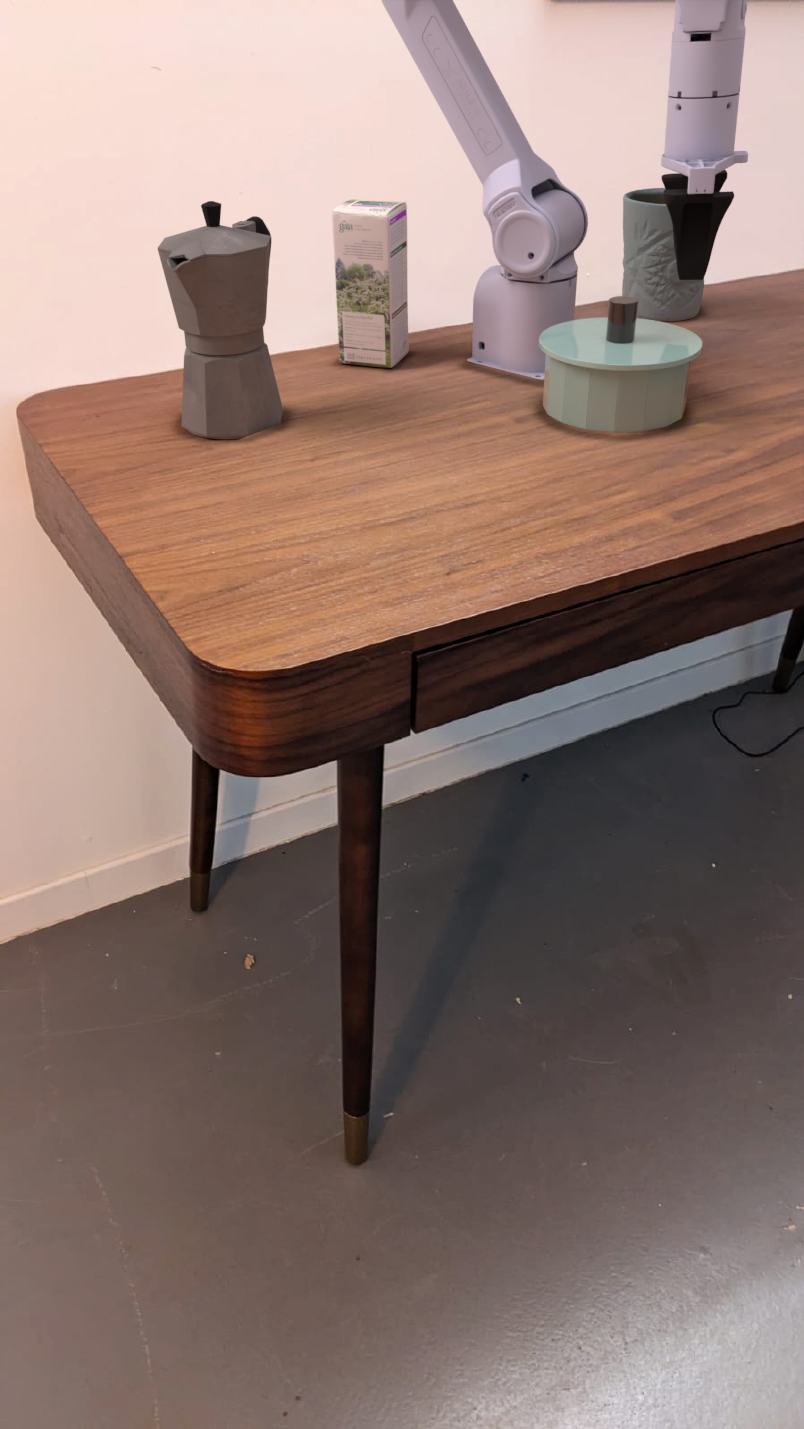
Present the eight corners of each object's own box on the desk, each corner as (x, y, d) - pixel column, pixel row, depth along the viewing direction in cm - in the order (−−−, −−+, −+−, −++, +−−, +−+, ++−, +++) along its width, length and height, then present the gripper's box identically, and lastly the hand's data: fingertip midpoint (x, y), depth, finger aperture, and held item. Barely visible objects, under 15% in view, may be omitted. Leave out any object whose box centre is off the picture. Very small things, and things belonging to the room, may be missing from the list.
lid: (506, 356, 96) (508, 303, 94) (596, 320, 105) (600, 271, 102) (645, 390, 89) (652, 333, 86) (730, 348, 97) (738, 296, 95)
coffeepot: (244, 455, 93) (222, 222, 83) (147, 440, 96) (113, 214, 86) (323, 395, 105) (312, 185, 94) (234, 384, 108) (214, 179, 97)
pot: (516, 416, 99) (519, 348, 96) (593, 381, 107) (598, 317, 103) (634, 449, 93) (642, 377, 89) (708, 409, 100) (718, 342, 97)
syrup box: (410, 352, 115) (408, 199, 107) (391, 370, 110) (388, 211, 102) (358, 348, 116) (352, 196, 108) (337, 365, 112) (329, 208, 104)
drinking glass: (684, 328, 121) (699, 207, 114) (597, 315, 125) (607, 198, 118) (717, 305, 127) (733, 191, 121) (634, 294, 132) (645, 183, 125)
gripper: (762, 102, 86) (742, 287, 93) (746, 83, 97) (730, 249, 105) (667, 106, 87) (655, 289, 94) (663, 87, 99) (653, 251, 106)
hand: (689, 268), depth 100 cm, fingers open, 7 cm apart
